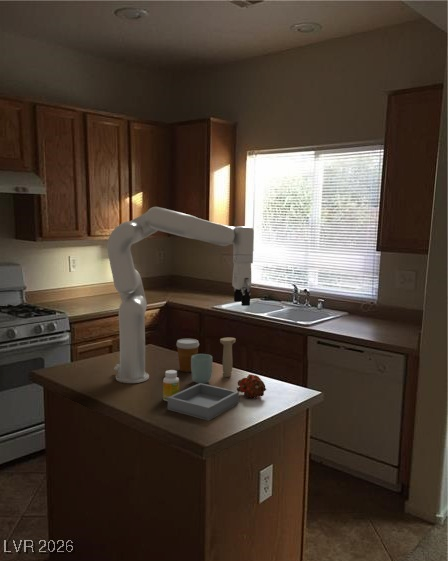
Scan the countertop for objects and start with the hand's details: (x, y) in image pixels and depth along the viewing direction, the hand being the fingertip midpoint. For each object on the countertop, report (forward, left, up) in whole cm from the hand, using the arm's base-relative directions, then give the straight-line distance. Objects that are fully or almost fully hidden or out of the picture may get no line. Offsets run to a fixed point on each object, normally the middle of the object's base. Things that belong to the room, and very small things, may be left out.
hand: (241, 303), depth 191 cm
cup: (-9, -13, -30) cm, 34 cm away
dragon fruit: (+14, -16, -30) cm, 36 cm away
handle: (-5, -1, -30) cm, 30 cm away
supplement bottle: (-7, -34, -30) cm, 46 cm away
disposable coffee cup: (-23, -3, -30) cm, 38 cm away
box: (+6, -33, -30) cm, 44 cm away
